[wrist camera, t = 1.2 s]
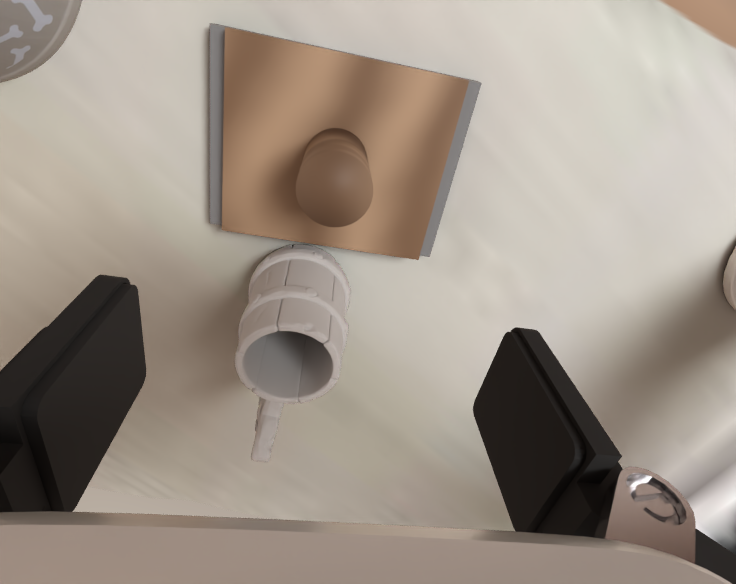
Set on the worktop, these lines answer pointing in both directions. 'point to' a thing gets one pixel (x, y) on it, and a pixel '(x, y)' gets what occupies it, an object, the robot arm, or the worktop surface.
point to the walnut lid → (332, 145)
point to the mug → (291, 334)
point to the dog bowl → (32, 33)
